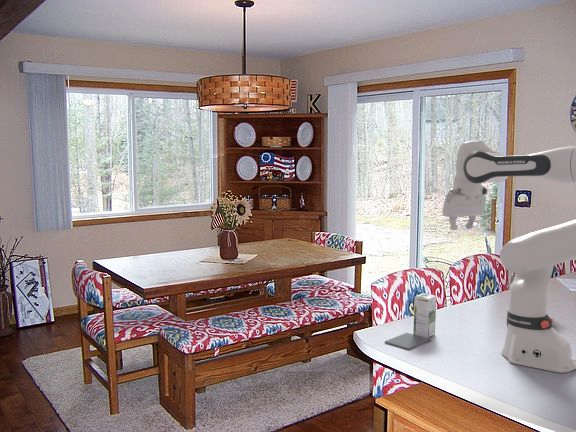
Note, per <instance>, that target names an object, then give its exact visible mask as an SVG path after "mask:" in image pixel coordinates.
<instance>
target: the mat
mask: <svg viewBox="0 0 576 432" xmlns="http://www.w3.org/2000/svg"><path fill="white" fill-rule="evenodd" d="M431 342H432V338H425V337H421V336H417V335H414V334H413V333H409V332H405V333H402V334H400V335H397V336H394V337H392V338H389V339H387V340H385V341H384V344H386V345H391V346H394V347H397V348H400V349H404V350H407V351H410V350H413V349H416V348H418V347H420V346H423V345H424V344H427V343H431Z"/></svg>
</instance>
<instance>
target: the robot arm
mask: <svg viewBox="0 0 576 432" xmlns="http://www.w3.org/2000/svg"><path fill="white" fill-rule="evenodd" d="M456 156H457V157H456V161H455V169H456V172H455V175H454V177H453V185H452V188H451V189H450V190H449V191H448V192H447V194H446V196H445V198H444V201H443V207H442V215H443V217H446V218H448V220H449V223H450V227H449V229H450V230H451V231H457V230H458V227H459V226H458V225H459V224H457V220H458V218H463V217H467V218H468V221H467V222H466V223H465V224H466V225H465V228H466V229H468V230H471V229H473V227H474V223H475V222H476V220H477V216H479V217H480V216H482V215H483V214H484V212H485V210H486V209H485V208H486V203H487V197H486V196H487V195H488V194H489V193H488V192H489V189H488V188H487V187H485V186H484V185H482V183H483V184H484V183H500V182H504V181H506V180H508V179H509V178H510V177H529V178H536V179H540V180H544V181H545V180H546V181H549V182H555V183H561V184H576V145H569V146H562V147H558V148H557V147H556V148H553V149H548V150H544V151H540V152H535V153H530V154H524V155H523V154H522V155H520V154H519V155H506V154H504V153H501V152H499V151H497V150H494V149H493V148H491V147H490V146H488V145H487V144H486V143H485V142H484V141H482V140H467V141H463V142H462V143H461V144H460V146H459V148H458V150H457V155H456ZM499 260H500V263H501V265H502V266H503V268H504V269H506V270H507V271H509V272H511V273H513V274H514V275H515V277H514V280H513V282H512V284H511V283H510V286H509V298H508V299H509V301H508V302H509V303H508V310H507V314H506V327H507V329H506V330H507V331H506V336H505V342H504V344H503V348H502V349H501V354H502V355H503V357H505V358H506V359H507V360H508V362H509V363H511V364H514V365H519V366H525V367H529V368H535V369H540V370H543V371H549V372H552V373H553V372H555V373H560V374H561V373H562V374H563V373H565V374H566V373H570V372H573V371H574V370H576V357H574V356H573V354H572V347H571V343H570V342H569V341H568V340H567V339H566V337H565V338H564V336H562V335H561V334H560V333H559V332H558V331H557V330H555V328H554V327H553V323H554V322H555V317H552V318H551V317H550V316H549V315H548V312H547V311H548V310H547V309H548V296H549V295H548V293H549V287H550V282H551V278H552V274H553V270H554V267H555V265H556V266H557V265H559V264H563V263H567V262H570V261H572V260H576V218H575V219H572V220H569V221H566V222H563V223H560V224H557V225H553V226H550V227H548V228H544V229H540V230H537V231H534V232H530V233H527V234H524V235H520V236H518V237H514V238H513V239H510V240H509V241H507V243H505V244H504V245H503V246H502V247H501V249H500V251H499Z"/></svg>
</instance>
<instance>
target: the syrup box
mask: <svg viewBox="0 0 576 432" xmlns="http://www.w3.org/2000/svg"><path fill="white" fill-rule="evenodd" d="M413 305H414V307H413V308H414V309H413V310H414V311H413V333H412V334H414V335H417V336H421V337H425V338H428V339H431V337H433V336H434V335H435V334H436V318H437V317H436V315H437V312H436V311H437V296H436V295H434V294H430V293H425V292H423V293H420V294H418V295H416V296H414V304H413Z"/></svg>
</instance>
